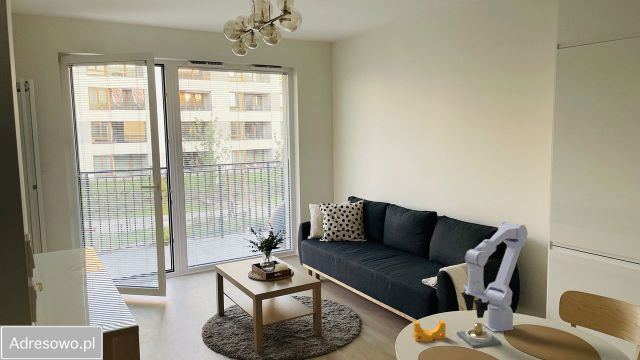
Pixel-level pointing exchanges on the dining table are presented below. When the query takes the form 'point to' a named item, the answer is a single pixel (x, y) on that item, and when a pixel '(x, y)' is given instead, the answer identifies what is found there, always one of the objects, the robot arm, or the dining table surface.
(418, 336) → the pipe clamp
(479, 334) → the brass cabinet knob
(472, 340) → the carrier plate
